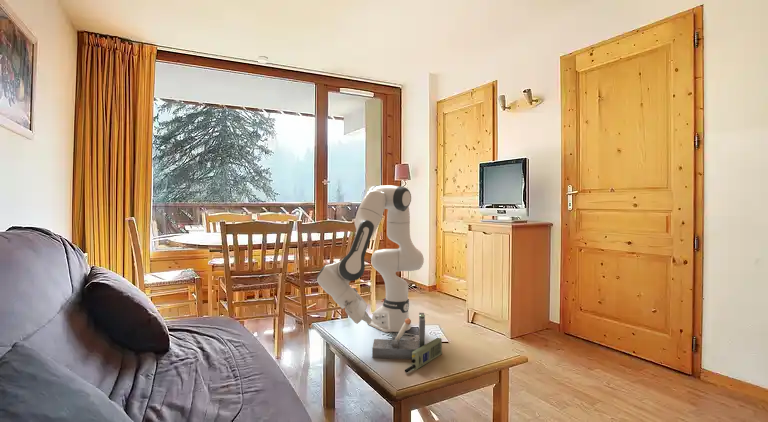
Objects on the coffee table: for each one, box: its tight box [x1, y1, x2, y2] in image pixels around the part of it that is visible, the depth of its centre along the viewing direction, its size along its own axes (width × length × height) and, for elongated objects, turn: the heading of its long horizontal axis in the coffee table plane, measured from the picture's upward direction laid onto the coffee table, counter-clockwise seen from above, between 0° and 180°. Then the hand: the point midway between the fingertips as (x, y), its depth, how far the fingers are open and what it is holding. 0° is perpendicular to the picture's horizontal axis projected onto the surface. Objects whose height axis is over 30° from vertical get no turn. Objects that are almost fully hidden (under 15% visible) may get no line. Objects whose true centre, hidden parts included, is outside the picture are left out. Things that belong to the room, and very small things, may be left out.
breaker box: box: [371, 312, 426, 360], centre depth 168 cm, size 21×10×17 cm, turn 87°
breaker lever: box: [395, 317, 412, 343], centre depth 167 cm, size 3×3×12 cm
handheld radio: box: [404, 337, 443, 374], centre depth 159 cm, size 7×3×25 cm
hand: (370, 322), depth 168 cm, fingers closed
